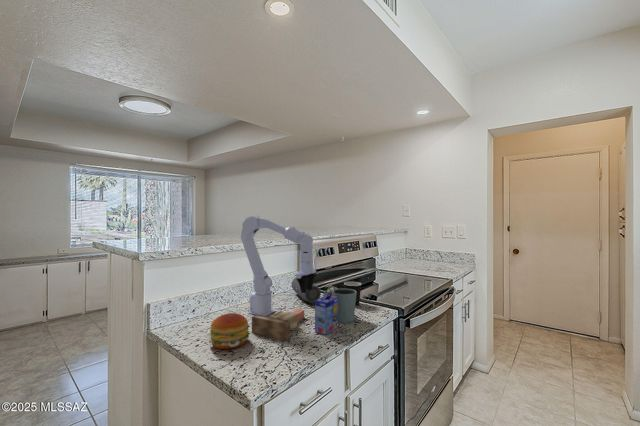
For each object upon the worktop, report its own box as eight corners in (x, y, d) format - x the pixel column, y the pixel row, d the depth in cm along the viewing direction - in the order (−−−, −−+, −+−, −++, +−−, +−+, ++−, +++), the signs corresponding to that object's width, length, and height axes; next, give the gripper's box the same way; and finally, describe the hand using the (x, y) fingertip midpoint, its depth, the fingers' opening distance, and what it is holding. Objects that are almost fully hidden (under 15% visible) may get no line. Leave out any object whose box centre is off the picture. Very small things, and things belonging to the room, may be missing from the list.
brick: (287, 323, 121) (287, 314, 121) (297, 316, 128) (297, 309, 128) (294, 324, 120) (294, 316, 120) (304, 318, 127) (304, 310, 127)
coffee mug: (364, 303, 147) (364, 282, 147) (356, 307, 139) (356, 286, 139) (343, 299, 153) (343, 280, 153) (335, 303, 146) (335, 283, 145)
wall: (251, 332, 111) (251, 316, 111) (255, 330, 113) (255, 315, 113) (287, 340, 104) (287, 323, 104) (290, 338, 106) (290, 322, 106)
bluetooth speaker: (290, 294, 163) (290, 276, 163) (306, 292, 167) (305, 274, 167) (304, 306, 142) (303, 285, 142) (321, 303, 146) (321, 283, 146)
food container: (337, 316, 128) (337, 293, 128) (323, 315, 130) (323, 292, 130) (340, 307, 140) (340, 286, 140) (328, 306, 142) (328, 285, 142)
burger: (210, 355, 94) (209, 324, 94) (208, 339, 106) (207, 311, 106) (252, 347, 99) (252, 318, 99) (245, 332, 112) (245, 306, 111)
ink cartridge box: (326, 335, 108) (326, 296, 108) (314, 332, 111) (313, 294, 111) (339, 326, 117) (338, 290, 117) (326, 323, 120) (326, 288, 120)
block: (270, 328, 115) (270, 316, 115) (280, 322, 121) (280, 311, 121) (287, 332, 111) (287, 319, 111) (297, 326, 117) (297, 314, 117)
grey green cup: (327, 319, 124) (327, 291, 124) (342, 313, 132) (342, 286, 132) (346, 325, 118) (346, 295, 117) (361, 318, 125) (361, 290, 125)
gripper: (305, 264, 124) (306, 296, 124) (321, 259, 137) (321, 288, 137) (291, 263, 127) (292, 294, 127) (308, 258, 140) (308, 286, 140)
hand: (306, 291), depth 132 cm, fingers open, 4 cm apart
